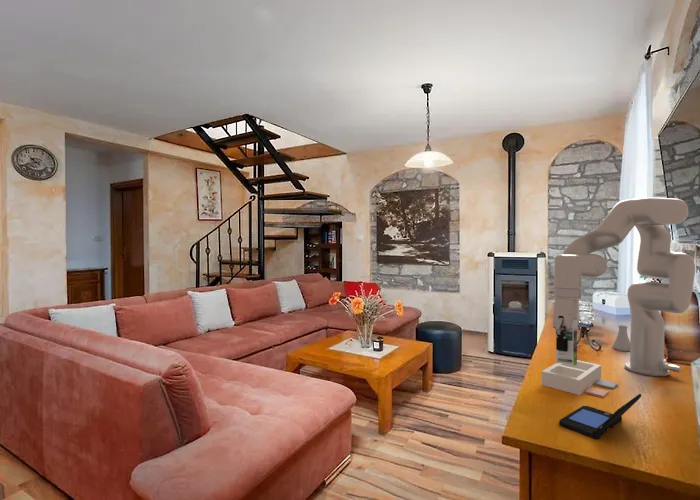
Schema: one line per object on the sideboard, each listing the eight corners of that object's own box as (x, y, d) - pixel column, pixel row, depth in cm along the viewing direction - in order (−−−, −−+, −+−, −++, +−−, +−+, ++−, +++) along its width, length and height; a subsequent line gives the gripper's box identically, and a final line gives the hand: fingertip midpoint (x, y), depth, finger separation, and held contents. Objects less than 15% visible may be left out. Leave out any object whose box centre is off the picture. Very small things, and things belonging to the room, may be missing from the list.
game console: (583, 409, 107) (584, 377, 107) (643, 428, 96) (643, 393, 96) (556, 426, 98) (556, 390, 98) (618, 449, 87) (618, 409, 87)
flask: (637, 351, 160) (637, 327, 159) (619, 351, 160) (619, 327, 160) (625, 346, 167) (625, 323, 167) (608, 346, 167) (608, 323, 167)
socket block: (620, 382, 126) (620, 369, 126) (600, 400, 112) (600, 385, 112) (565, 370, 138) (565, 357, 138) (541, 385, 125) (541, 371, 125)
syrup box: (556, 363, 123) (556, 317, 122) (556, 358, 128) (556, 314, 128) (576, 365, 120) (577, 319, 120) (576, 360, 125) (576, 316, 125)
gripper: (565, 289, 132) (564, 341, 132) (543, 294, 120) (543, 351, 121) (589, 291, 126) (588, 345, 127) (570, 297, 115) (569, 356, 115)
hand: (566, 347), depth 124 cm, fingers closed on syrup box, 7 cm apart
